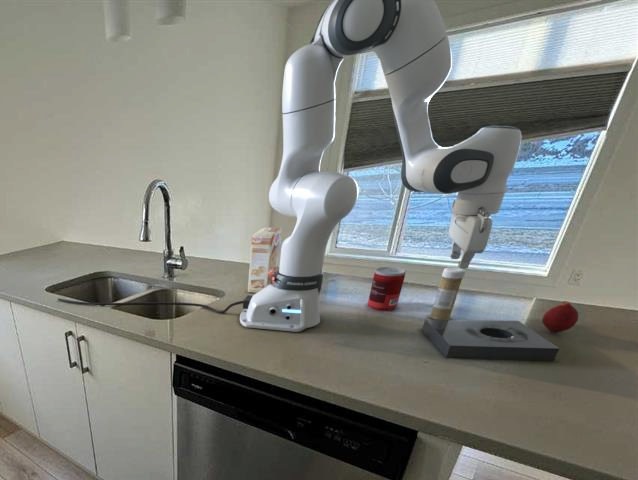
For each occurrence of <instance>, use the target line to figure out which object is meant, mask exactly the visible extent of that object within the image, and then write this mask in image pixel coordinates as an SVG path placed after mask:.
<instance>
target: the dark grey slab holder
mask: <svg viewBox="0 0 638 480" xmlns="http://www.w3.org/2000/svg"><path fill="white" fill-rule="evenodd" d="M421 331H422V332H423V333H424V335H426V336H427V338H428V339H429V340H430V341H431V342H432V343H433V344H434V345H435V347H436V348H437V349H438V350H439V351H440V352H441V353H442V354H443V355H444V357H446V358H456V359H457V358H458V359H482V360H483V359H485V360H486V359H487V360H512V361H513V360H514V361H543V362H545V361H546V362H554V361H555V359H556V357H557V355H558V353H559V351H560V348H559V347H558V346H557V345H556V344H555V343H552V342H550V341H549V340H548V339H546V337H545V338H544V337H543V336H542V335H540V334H538V333H537V332H535V331H534V330H533V329H532V328H530V327H529V326H527V325H525V324H524V323H522V322H521V321H520V320H492V319H491V320H488V319H486V320H485V319H484V320H482V319H481V320H480V319H475V320H474V319H448V320H435V319H424V322H423V325H422V328H421Z"/></svg>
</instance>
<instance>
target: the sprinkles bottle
mask: <svg viewBox="0 0 638 480" xmlns="http://www.w3.org/2000/svg"><path fill="white" fill-rule="evenodd" d="M465 274H466V269H460V268H459V267H445V268H444V269H443V271H442V274H441V281H440V283H439V287H438V289H437V293H436V296H435V299H434V302H433V305H432V306H433V307H432V309H431V313H430V315H429V317H430V318H431V320H451V315H452V311H453V309H454V307H455V303H456V300H457V296H458V293H459V291H460V287H461V285H462V284H461V283H462V280H463V278H464V277H465Z"/></svg>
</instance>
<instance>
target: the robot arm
mask: <svg viewBox="0 0 638 480" xmlns="http://www.w3.org/2000/svg"><path fill="white" fill-rule="evenodd" d="M451 47H452V46H451V44H450V40H449V35H448V33H447V28H446V25H445V22H444V20H443V16H442V14H441V12H440V9H439V8H438V5H437V3H436V2H435V0H332V1H331V2H330V3H329V4H328V6H327V7H326V8H325V9H324V11H323V13H322V14H321V16H320V18H319V20H318V23H317V25H316V28H315V30H314V33H313V35H312V38H311V40H310V42H309V43H308V44H306V45H303V46H301V47H300V48H299V49H297V50H296V51H295V52H293V53H292V54H291V55H290V56H289V58H288V59H287V61H286V63H285V66H284V73H283V79H282V80H283V81H282V93H281V99H282V100H281V109H282V110H281V111H282V112H281V113H282V137H283V138H282V140H283V141H282V142H283V150H282V151H283V152H282V157H281V163H280V167H279V170H278V171H279V172H278V175H277V177H276V178H275V179H274V181H273V182H272V184H271V186H270V188H269V191H268V201H269V203H270V206H271V208H272V209H273V210H275V211H276V212H278V213H280V214H281V215H283V216H287V217H290V218H291V217H292V218H296V223H295V226H294V229H293V231H292V233H291V234H290V236H288V237H287V238H285V239H284V240H283V241H282V243H281V246H280V255H279V265H278V270H277V272H276V271H275V270H270V271H269V277H270V278H271V279H270V285H268V286H267V287H265V288H264V289H262V290H261V291H259V292H258V293H253V295H246V297H244V299H243V300H238V301H235V302H233V303H230V304H229V305H227V307H226V308H224V309H223V310H217V309H215V308H212V307H211V306H209V305H206V304H202V303H193V302H175V301H174V302H172V301H171V302H169V301H159V302H158V301H149V302H148V301H146V302H145V301H144V302H142V301H141V302H90V301H78V300H71V299H65V298H60V297H59V298H58V297H57V301H61V302H64V303H70V304H78V305H89V306H147V305H149V306H153V305H155V306H156V305H158V306H159V305H161V306H163V305H165V306H189V307H190V306H191V307H200V308H205V309H207V310H210V311H212V312H214V313H218V314H224V313H226V312H228V310H230V308H232V307H234V306H237V305H242V310H241V312H240V314H239V322H240V324H241V325H242V326H243V327H245V328H250V329H259V330H260V329H261V330H272V331H281V332H282V331H283V332H294V333H299V332H303V331H304V330H305V329H308V328H312V327H315V326H317V325H319V324H320V322H321V317H320V316H321V315H320V307H319V306H320V303H319V302H320V293H321V290H322V287H323V282H324V281H323V279H324V272H323V267H324V266H323V265H324V261H325V256H326V250H327V245H328V243H329V240H330V238H331V236H332V233H333V231H334V230H335V228H336V227H337V225H338V224H339V223H340V222H341V221H342V220H344V218H346V217H347V216H348V215H349V214H351V212H352V211H353V209H354V207H355V206H356V204H357V201H358V198H359V186H358V183H357V180H356V179H354V178H353V177H352V176H349V175H347V174H344V173H341V172H338V171H328V170H327V171H325V170H323V171H321V161H322V158H323V155H324V152H325V150H326V149H327V148H328V147H330V145H332V143H333V141H334V139H335V135H336V79H337V74H338V71H339V69H340V66H341V64H342V62H343V61H344V60H345V59H347V58H351V57H353V56H356V55H359V54H362V53H364V52H366V51H369V50H371V51H372V52H373V53H374V54H375V55H376V56H377V58H378V60H379V62H380V66H381V69H382V73H383V75H384V80H385V83H386V86H387V88H388V92H389V95H390V99H391V107H392V108H391V109H392V115H393V120H394V124H395V129H396V133H397V137H398V142H399V146H400V150H401V157H402V159H401V160H402V161H401V168H400V169H401V170H400V178H401V183H402V185H403V186H404V188H405V189H407V190H408V191H410V192H415V193H430V194H431V193H432V194H441V195H451V194H456V197H455V199H454V200H453V201H452V204H451V209H452V211H451V213H452V214H451V217H450V223H449V228H448V237H449V238H450V239H451V241H452V243H451V252H450V255H449V258H450V259H451V260H459V261H458V265H457V268H460V269H464V270H467V269H468V268H469V266H470V264H471V261H472V260H473V258H474V257H475V255H476V254H482V253H484V251H485V250H486V248H487V245H488V241H489V238H490V234H491V232H492V228H493V219H492V218H491V215H495V214H498V213H499V211H500V208H501V206H502V203H503V200H504V198H505V195H506V191H507V183H508V179H509V177H510V175H511V174H512V172H513V171H514V168H515V165H516V162H517V159H518V156H519V153H520V149H521V144H522V131H521V130H520V128H517V127H516V126H515V127H514V126H509V125H489V126H484V127H482V128H480V129H479V130H478V131H477V132H476V133H475V134H473V135H472V136H470V137H468V138H467V139H465V140H463V141H461V142H459V143H456V144H454V145H453V146H447V147H446V146H445V147H444V146H443V147H442V146H441V145H438V143H437V142H435V140H434V138H433V132H432V128H431V121H430V118H429V111H428V109H429V107H428V106H429V104H430V103H429V102H430V101H431V98H432V97H433V96H434V95H435V94H436V93H437V92H438V91H439V90H440V89H441V88H442V86H443V85H444V83H445V82H446V80H447V78H448V77H449V75H450V72H451V70H452V66H453V65H452V64H453V63H452V61H453V59H452V58H453V57H452V48H451ZM461 255H462V256H461ZM460 258H461V259H460Z"/></svg>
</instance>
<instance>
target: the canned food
mask: <svg viewBox="0 0 638 480" xmlns="http://www.w3.org/2000/svg"><path fill="white" fill-rule="evenodd" d="M406 272H407V271H406V269H404V268H401V267H398V266H397V267H396V266H380V267H377V268H376V269H375V270H374V274H373V278H372V282H371V287H370V292H369V296H368V301H367V306H368V307H369V308H370V309H373V310H376V311H383V312H385V311H386V312H387V311H393V310H395V309H396V308H397V306H398V303H399V299H400V296H401V292H402V289H403V285H404V281H405V278H406Z"/></svg>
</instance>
